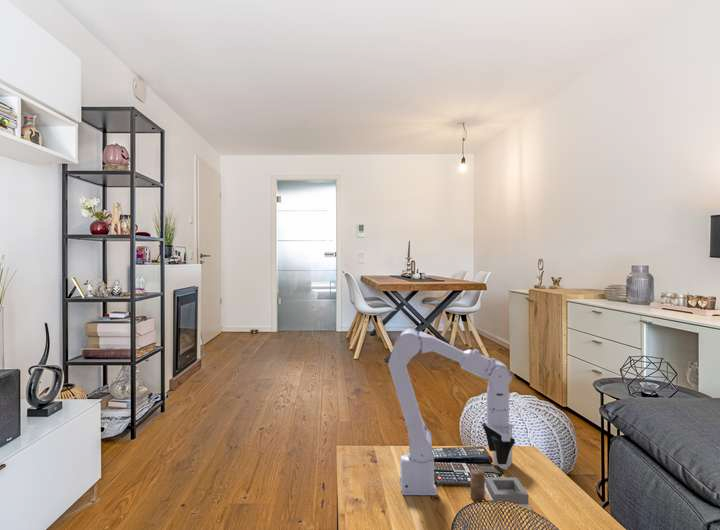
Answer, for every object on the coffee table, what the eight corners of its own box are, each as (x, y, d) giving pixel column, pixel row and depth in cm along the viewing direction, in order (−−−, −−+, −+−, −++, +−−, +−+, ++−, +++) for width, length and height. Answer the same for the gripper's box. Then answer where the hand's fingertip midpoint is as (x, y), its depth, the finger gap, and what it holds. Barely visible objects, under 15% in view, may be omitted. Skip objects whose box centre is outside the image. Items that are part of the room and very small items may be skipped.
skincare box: (499, 459, 136) (498, 421, 136) (512, 462, 133) (512, 424, 133) (492, 466, 131) (492, 427, 131) (506, 470, 128) (506, 431, 128)
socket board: (495, 511, 107) (495, 498, 107) (483, 486, 119) (483, 474, 119) (531, 512, 107) (531, 498, 107) (515, 486, 119) (515, 474, 119)
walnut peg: (472, 502, 111) (472, 475, 111) (469, 494, 115) (469, 469, 115) (486, 502, 111) (486, 475, 111) (482, 494, 115) (482, 469, 115)
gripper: (522, 417, 108) (522, 470, 108) (504, 398, 122) (503, 445, 123) (494, 416, 108) (494, 469, 108) (479, 398, 122) (479, 445, 123)
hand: (497, 456), depth 115 cm, fingers open, 7 cm apart
